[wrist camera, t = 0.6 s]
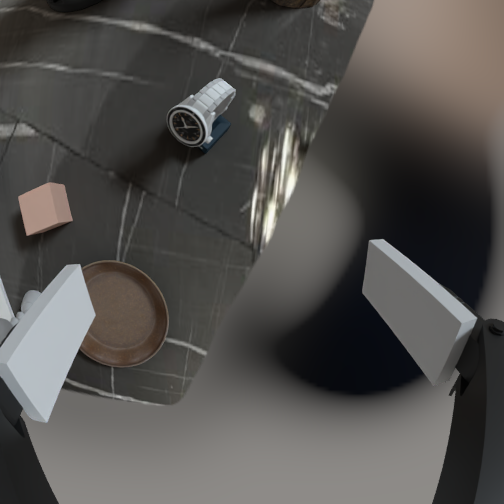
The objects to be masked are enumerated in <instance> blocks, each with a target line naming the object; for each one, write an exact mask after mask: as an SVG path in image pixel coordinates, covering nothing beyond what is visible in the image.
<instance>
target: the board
mask: <svg viewBox="0 0 504 504" xmlns="http://www.w3.org/2000/svg"><path fill="white" fill-rule="evenodd" d="M12 317H15V316H14V314H13V311H12V309H11V306H10V304H9V301H8V298H7V295H6V292H5V290H4V287H3V284H2V281H1V277H0V318H3V319H6V320H8V321H9V322H10V321H11V318H12Z"/></svg>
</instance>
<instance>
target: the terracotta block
mask: <svg viewBox="0 0 504 504" xmlns="http://www.w3.org/2000/svg"><path fill="white" fill-rule="evenodd" d="M18 198H19V203H20V208H21V213H22V217H23V221H24V226H25V230H26V234H27V236H28V235H33V234H38V233H43V232H46V231H48V230H51V229H53V228H56V227H58V226H61V225H63V224H66V223H68V222H71V221H73V220H72V216H71V212H70V208H69V204H68V200H67V195H66V190H65V186H64V185H62V184H56V183H50V182H49V183H47V184H44V185H42V186H40V187H38V188H36V189H33V190H31V191H29V192H27V193H25V194H23V195H21V196H19V197H18Z"/></svg>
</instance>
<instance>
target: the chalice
mask: <svg viewBox="0 0 504 504" xmlns="http://www.w3.org/2000/svg"><path fill="white" fill-rule="evenodd" d="M41 294H42V293H40V292H38V291H35V290H31V291H28V292H27V293H26V294H25V296H24V298H23V301H22V304H21V311H22V312H18V313H17V315H16V317H17V318H15V317H12V318H11V321H10V322H9V321H8V320H6V319H3V318H0V344H1V342H2V341H3V339H4V338H6V335H7V334H8V333H9V331H10V330H11V329H12V327H14V326H15V325H16V324H17V323H18V322H19V321H20V320H21V319H22V317H23V316H24V315H25V314H26V312H27V311H28V310H29V309H30V307H31V306H32V305H33V304H34V302H35V301H36V300H37V299H38V297H39V296H40V295H41Z"/></svg>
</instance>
